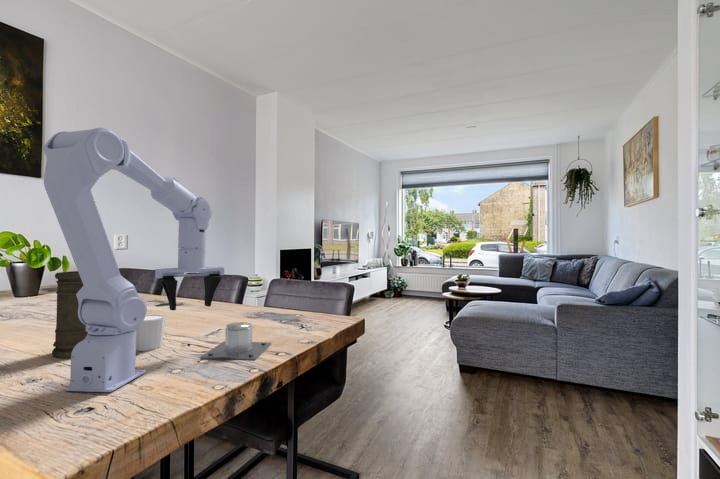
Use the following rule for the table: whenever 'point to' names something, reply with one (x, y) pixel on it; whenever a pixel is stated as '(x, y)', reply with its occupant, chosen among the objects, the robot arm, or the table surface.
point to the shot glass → (150, 333)
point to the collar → (238, 337)
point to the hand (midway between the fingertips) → (190, 307)
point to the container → (68, 315)
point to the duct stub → (252, 354)
